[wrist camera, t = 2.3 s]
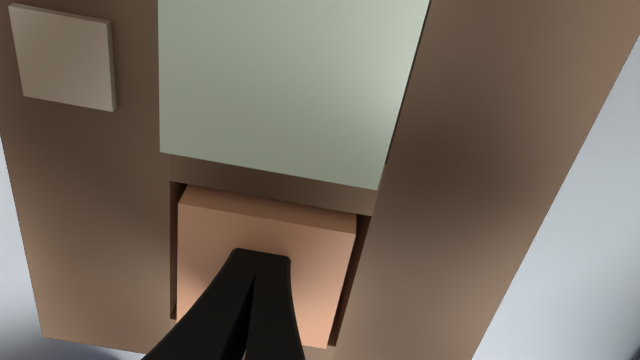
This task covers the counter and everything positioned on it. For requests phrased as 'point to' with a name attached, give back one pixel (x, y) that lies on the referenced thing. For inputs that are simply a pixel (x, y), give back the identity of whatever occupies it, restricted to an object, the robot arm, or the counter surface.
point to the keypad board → (369, 205)
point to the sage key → (286, 83)
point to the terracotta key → (266, 249)
